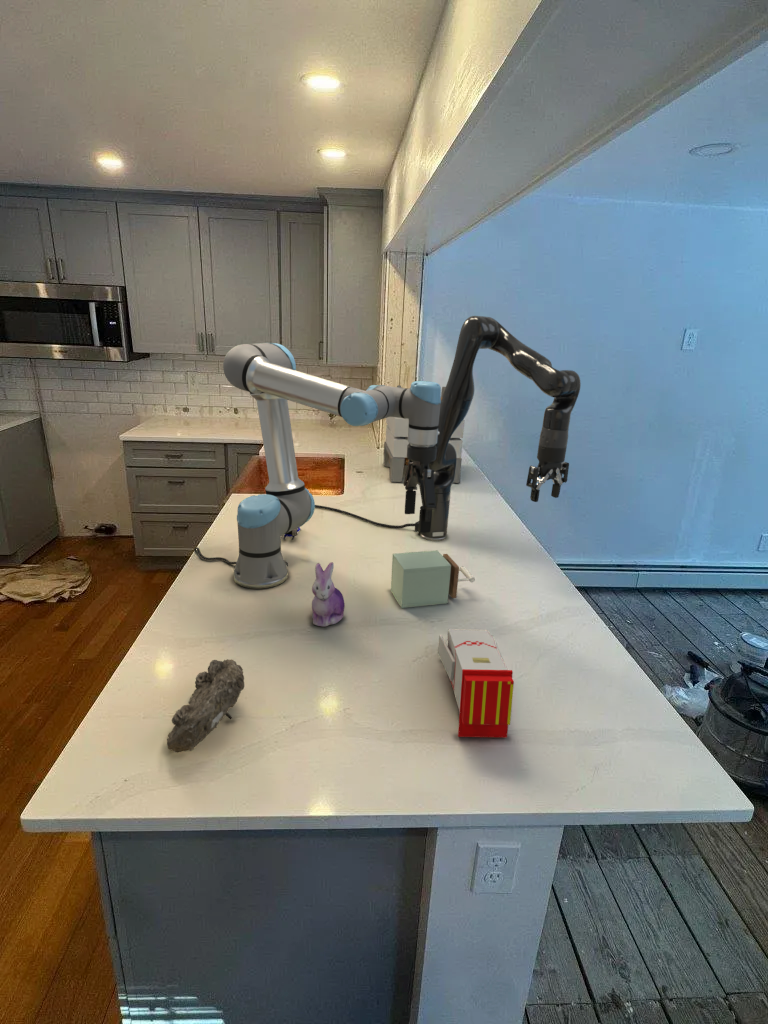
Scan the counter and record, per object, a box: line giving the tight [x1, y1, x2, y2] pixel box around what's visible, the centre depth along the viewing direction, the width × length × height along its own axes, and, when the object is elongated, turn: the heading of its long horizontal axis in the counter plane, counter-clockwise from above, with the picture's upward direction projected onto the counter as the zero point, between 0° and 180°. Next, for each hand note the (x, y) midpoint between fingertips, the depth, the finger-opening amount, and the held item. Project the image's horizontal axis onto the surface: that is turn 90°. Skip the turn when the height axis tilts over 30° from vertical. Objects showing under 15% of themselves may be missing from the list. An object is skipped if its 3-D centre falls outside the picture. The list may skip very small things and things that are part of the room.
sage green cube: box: [390, 549, 451, 609], centre depth 155 cm, size 13×10×11 cm
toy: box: [437, 628, 515, 738], centre depth 117 cm, size 12×13×30 cm
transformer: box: [383, 384, 465, 484], centre depth 268 cm, size 34×33×41 cm
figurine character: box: [281, 527, 301, 541], centre depth 194 cm, size 7×8×15 cm
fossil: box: [166, 658, 245, 754], centre depth 106 cm, size 22×10×15 cm
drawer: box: [442, 553, 476, 599], centre depth 157 cm, size 17×9×9 cm, turn 106°
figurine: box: [311, 561, 346, 627], centre depth 141 cm, size 9×10×15 cm
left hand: (416, 522), depth 151 cm, fingers open, 13 cm apart
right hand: (544, 499), depth 163 cm, fingers open, 8 cm apart
